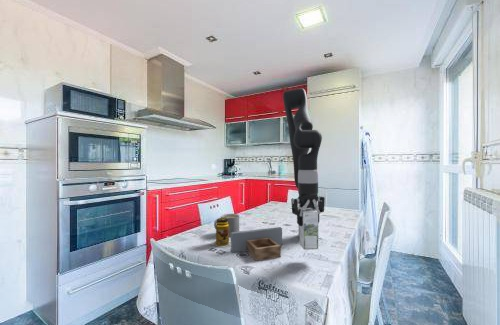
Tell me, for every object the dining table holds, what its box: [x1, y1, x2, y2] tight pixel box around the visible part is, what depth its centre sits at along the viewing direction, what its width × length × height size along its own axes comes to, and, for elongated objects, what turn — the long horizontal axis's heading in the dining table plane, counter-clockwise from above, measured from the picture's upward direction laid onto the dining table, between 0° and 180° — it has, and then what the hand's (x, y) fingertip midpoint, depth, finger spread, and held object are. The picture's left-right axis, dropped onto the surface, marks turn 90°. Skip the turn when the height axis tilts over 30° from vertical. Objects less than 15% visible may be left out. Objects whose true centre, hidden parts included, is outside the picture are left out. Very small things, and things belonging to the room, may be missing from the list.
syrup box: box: [299, 209, 319, 251], centre depth 87 cm, size 6×6×14 cm
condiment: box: [210, 217, 231, 248], centre depth 107 cm, size 7×8×12 cm
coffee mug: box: [213, 213, 240, 238], centre depth 121 cm, size 13×10×10 cm
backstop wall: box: [230, 226, 283, 253], centre depth 101 cm, size 24×2×8 cm, turn 110°
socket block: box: [246, 238, 282, 262], centre depth 95 cm, size 11×11×4 cm
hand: (308, 224), depth 87 cm, fingers closed on syrup box, 6 cm apart
